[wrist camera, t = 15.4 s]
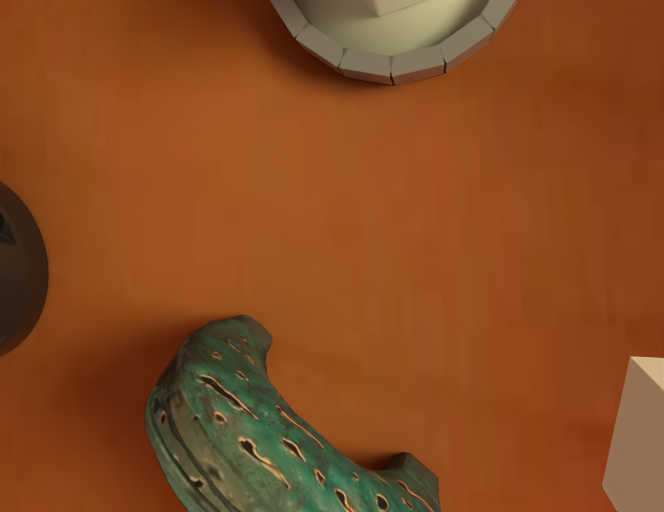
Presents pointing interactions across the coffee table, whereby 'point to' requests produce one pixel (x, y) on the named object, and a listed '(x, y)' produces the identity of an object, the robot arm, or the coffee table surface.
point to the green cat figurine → (259, 438)
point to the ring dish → (393, 35)
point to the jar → (388, 5)
